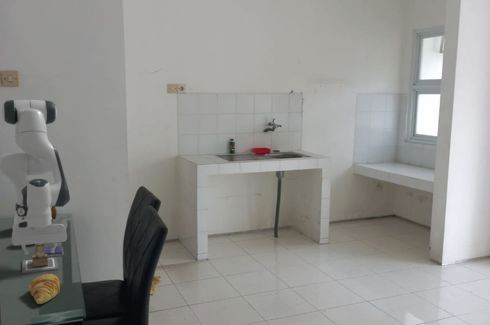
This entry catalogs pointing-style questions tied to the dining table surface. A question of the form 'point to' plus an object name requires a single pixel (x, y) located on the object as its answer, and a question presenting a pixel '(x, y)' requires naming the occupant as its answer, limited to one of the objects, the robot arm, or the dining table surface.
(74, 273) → the dining table surface
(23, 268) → the board
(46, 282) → the croissant
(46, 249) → the ink pad
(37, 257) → the stamp
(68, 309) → the dining table surface
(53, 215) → the hand bell
